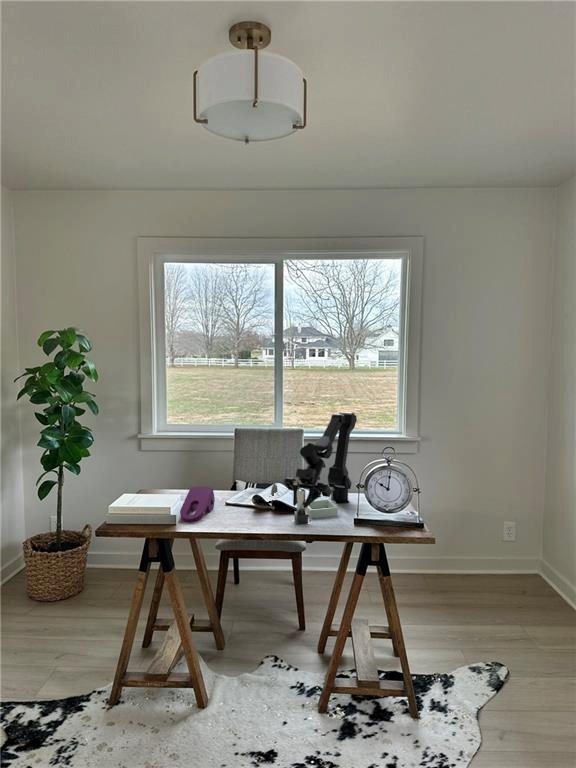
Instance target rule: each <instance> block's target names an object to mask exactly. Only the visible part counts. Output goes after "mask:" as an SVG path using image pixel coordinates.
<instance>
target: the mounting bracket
mask: <svg viewBox="0 0 576 768" xmlns="http://www.w3.org/2000/svg"><path fill="white" fill-rule="evenodd" d="M213 488H214V487H207V486H190V488H189V490H188V492H187V494H186V496H185V499H184V501H183V503H182V506H181V508H180V510H179V513H180V518H181V520H182V521H183V522H185V523H196V522H198V521H200V520H201V519H202V518H203V517H204V516H205V514H206V513H210V512H213V510H214V507H215V492H214V489H213ZM190 512H194V513H193V514H192V515H190Z"/></svg>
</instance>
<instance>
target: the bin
mask: <svg viewBox="0 0 576 768" xmlns="http://www.w3.org/2000/svg"><path fill="white" fill-rule="evenodd" d="M305 511H306V512H307V514H308V517H309V519H311V518H312V519H314V518H325V517H335V516H338V513H339V511H338V507H337V505H335V504H334V503H333V502H332V500H331V499H328V498H327V499H316V500H314V501H313V502H312V503H311V504H310V505H309V506H307V507H306V508H305Z"/></svg>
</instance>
